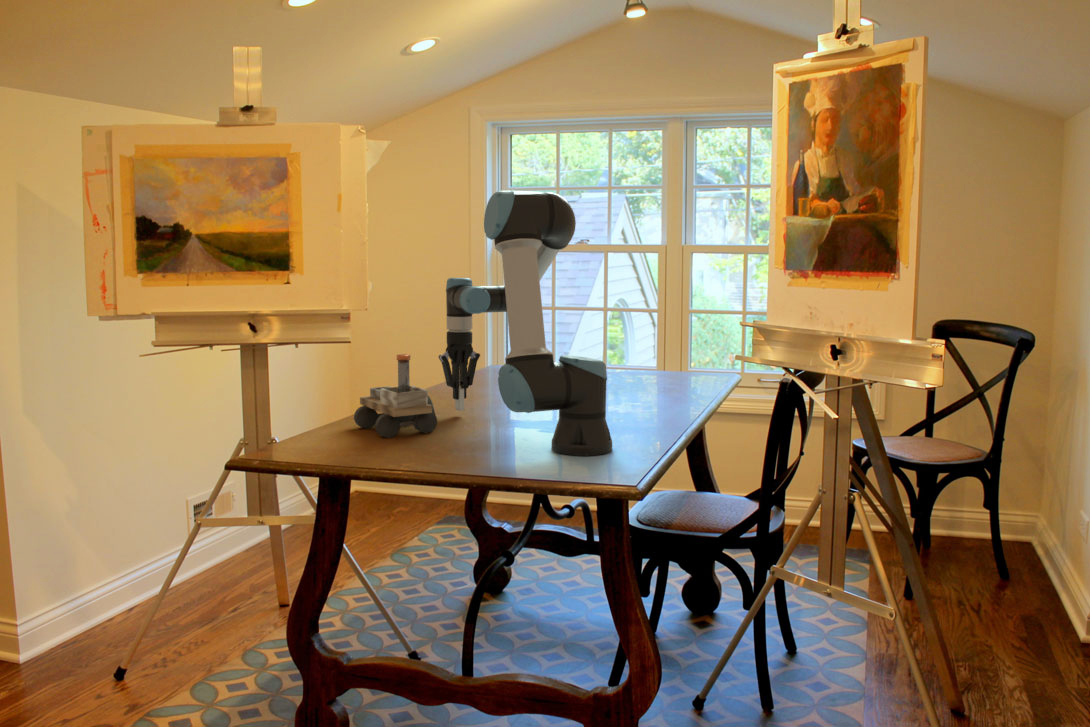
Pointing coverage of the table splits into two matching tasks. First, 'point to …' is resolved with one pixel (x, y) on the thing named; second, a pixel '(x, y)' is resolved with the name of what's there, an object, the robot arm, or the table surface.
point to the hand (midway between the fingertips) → (459, 409)
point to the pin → (403, 373)
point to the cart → (395, 410)
